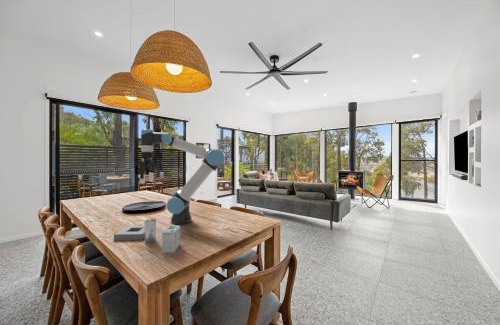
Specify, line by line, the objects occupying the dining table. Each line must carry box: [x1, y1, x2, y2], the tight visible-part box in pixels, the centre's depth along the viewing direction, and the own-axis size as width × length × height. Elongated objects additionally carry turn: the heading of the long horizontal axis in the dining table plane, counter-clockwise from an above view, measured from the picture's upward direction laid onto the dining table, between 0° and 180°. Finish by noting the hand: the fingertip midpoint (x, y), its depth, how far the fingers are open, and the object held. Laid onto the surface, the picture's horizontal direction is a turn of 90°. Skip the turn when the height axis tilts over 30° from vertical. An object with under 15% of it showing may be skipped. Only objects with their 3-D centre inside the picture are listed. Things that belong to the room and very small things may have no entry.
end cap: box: [143, 218, 157, 244], centre depth 120 cm, size 6×6×12 cm
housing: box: [113, 225, 144, 241], centre depth 128 cm, size 16×16×4 cm
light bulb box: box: [161, 225, 181, 254], centre depth 111 cm, size 11×7×11 cm, turn 5°
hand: (147, 182), depth 143 cm, fingers open, 13 cm apart
